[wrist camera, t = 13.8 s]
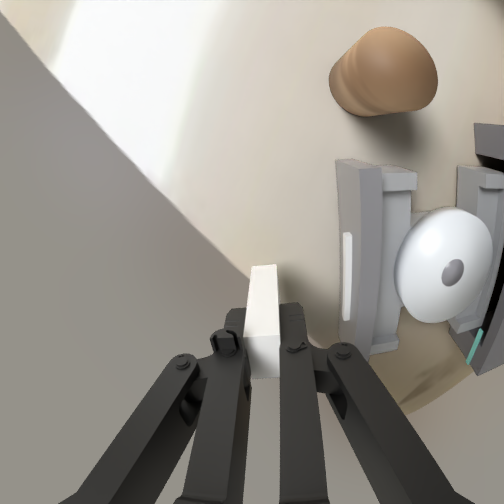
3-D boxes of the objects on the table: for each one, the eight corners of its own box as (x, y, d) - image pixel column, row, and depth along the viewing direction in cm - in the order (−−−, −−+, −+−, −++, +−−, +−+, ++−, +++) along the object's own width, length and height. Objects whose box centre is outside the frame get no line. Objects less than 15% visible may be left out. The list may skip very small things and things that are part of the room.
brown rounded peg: (323, 55, 14) (347, 22, 8) (385, 58, 13) (428, 34, 8) (333, 117, 16) (364, 109, 10) (394, 117, 15) (443, 114, 10)
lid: (486, 204, 14) (500, 211, 12) (468, 300, 17) (478, 311, 16) (396, 209, 15) (408, 217, 13) (387, 318, 18) (394, 332, 16)
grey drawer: (329, 160, 16) (351, 169, 12) (483, 160, 15) (523, 172, 11) (333, 335, 22) (344, 377, 17) (462, 309, 20) (487, 339, 16)
